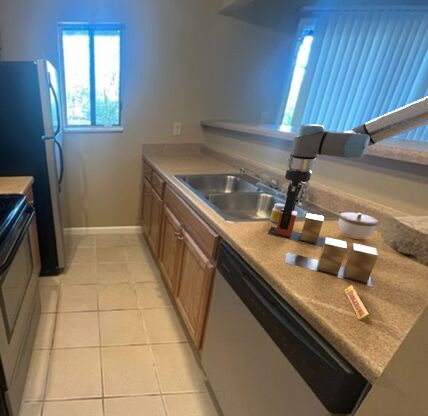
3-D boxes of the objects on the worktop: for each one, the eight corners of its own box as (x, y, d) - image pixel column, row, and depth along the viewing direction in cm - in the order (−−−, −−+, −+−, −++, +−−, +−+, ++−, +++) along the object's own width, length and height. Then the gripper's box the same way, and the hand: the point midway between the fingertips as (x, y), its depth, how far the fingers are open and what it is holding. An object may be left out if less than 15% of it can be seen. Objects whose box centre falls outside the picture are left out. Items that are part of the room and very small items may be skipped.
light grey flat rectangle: (369, 274, 82) (369, 273, 82) (372, 287, 76) (372, 286, 76) (287, 252, 94) (287, 252, 94) (284, 263, 89) (284, 262, 89)
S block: (292, 232, 108) (297, 211, 105) (290, 237, 104) (296, 215, 101) (277, 229, 111) (282, 208, 108) (275, 233, 107) (280, 212, 104)
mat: (325, 238, 104) (325, 238, 103) (324, 248, 97) (324, 247, 97) (271, 226, 114) (271, 226, 114) (267, 234, 108) (267, 234, 107)
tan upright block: (337, 267, 85) (346, 241, 82) (337, 274, 82) (347, 248, 79) (317, 262, 88) (325, 237, 85) (317, 269, 85) (325, 243, 81)
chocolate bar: (355, 292, 74) (357, 286, 74) (372, 323, 64) (375, 315, 64) (343, 290, 76) (345, 283, 75) (358, 319, 65) (361, 312, 65)
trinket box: (345, 228, 111) (352, 206, 108) (378, 239, 102) (386, 216, 99) (327, 232, 108) (334, 210, 105) (359, 245, 99) (368, 221, 95)
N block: (365, 274, 82) (376, 248, 78) (367, 282, 78) (378, 255, 75) (344, 268, 84) (353, 243, 81) (344, 276, 81) (353, 249, 78)
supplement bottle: (282, 226, 114) (287, 207, 111) (269, 224, 117) (273, 205, 114) (282, 222, 118) (286, 203, 115) (269, 220, 121) (273, 202, 117)
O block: (317, 238, 103) (323, 216, 100) (316, 243, 100) (323, 220, 97) (301, 234, 106) (307, 213, 103) (299, 239, 103) (305, 217, 99)
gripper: (291, 162, 110) (279, 210, 118) (282, 174, 92) (269, 231, 99) (314, 164, 105) (300, 215, 113) (309, 178, 87) (293, 237, 95)
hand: (285, 222), depth 106 cm, fingers open, 13 cm apart
